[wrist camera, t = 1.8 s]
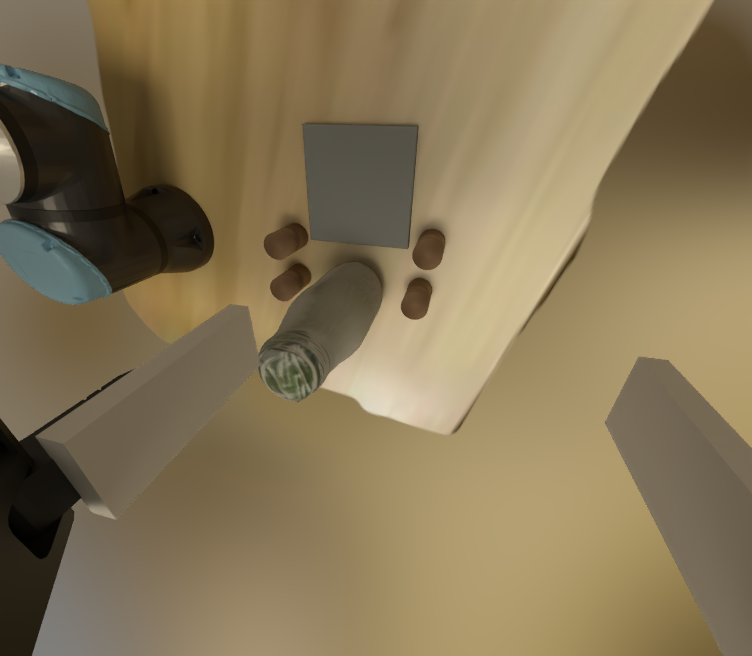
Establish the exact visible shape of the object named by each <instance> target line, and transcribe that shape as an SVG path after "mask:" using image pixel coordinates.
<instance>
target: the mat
mask: <svg viewBox="0 0 752 656" xmlns="http://www.w3.org/2000/svg"><path fill="white" fill-rule="evenodd" d="M302 125H303V139H304V152H305V166H306V180H307V193H308V207H309V221H310V234H311V240H320V241H330V242H340V243H351V244H361V245H371V246H381V247H392V248H402V249H408V247H409V238H410V225H411V213H412V200H413V188H414V176H415V163H416V151H417V139H418V126H381V125H335V124H302Z"/></svg>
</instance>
